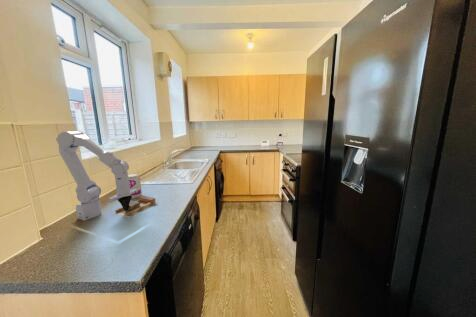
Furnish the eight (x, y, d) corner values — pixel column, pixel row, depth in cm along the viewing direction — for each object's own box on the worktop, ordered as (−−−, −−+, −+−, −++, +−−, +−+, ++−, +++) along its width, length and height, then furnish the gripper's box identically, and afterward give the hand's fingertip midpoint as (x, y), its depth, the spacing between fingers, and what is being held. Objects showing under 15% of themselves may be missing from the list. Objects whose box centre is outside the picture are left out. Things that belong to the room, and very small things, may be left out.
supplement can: (137, 200, 120) (135, 177, 117) (124, 200, 120) (121, 177, 117) (144, 195, 128) (142, 173, 125) (132, 195, 128) (129, 173, 125)
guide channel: (129, 219, 96) (128, 211, 95) (112, 214, 101) (111, 207, 100) (157, 205, 112) (156, 198, 111) (141, 201, 117) (140, 195, 117)
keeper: (132, 212, 101) (131, 206, 101) (124, 210, 104) (123, 204, 103) (140, 208, 106) (139, 202, 105) (132, 206, 108) (132, 200, 108)
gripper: (113, 190, 91) (117, 217, 93) (140, 181, 104) (143, 205, 106) (104, 188, 93) (108, 214, 96) (131, 180, 106) (134, 203, 109)
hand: (126, 209), depth 101 cm, fingers closed
